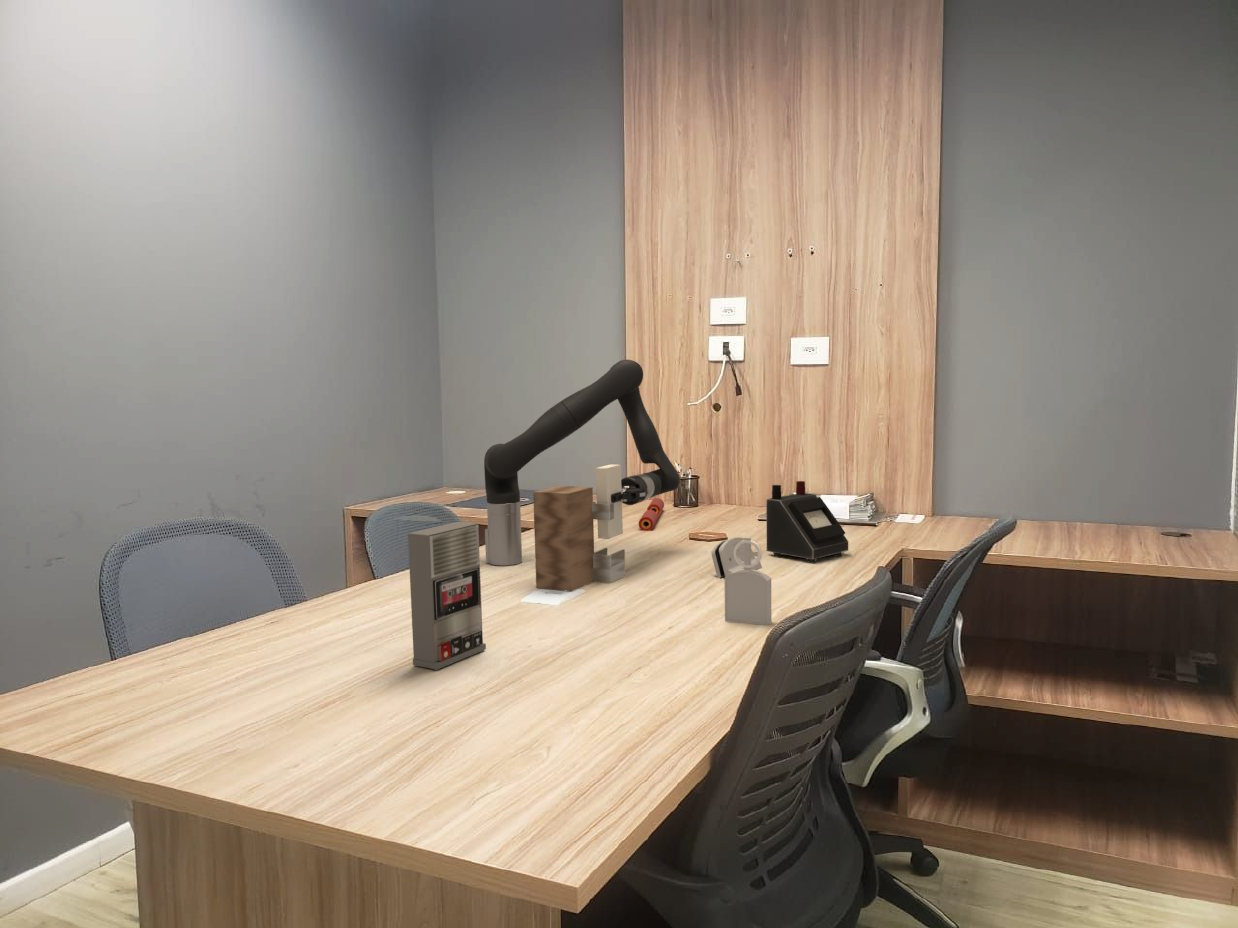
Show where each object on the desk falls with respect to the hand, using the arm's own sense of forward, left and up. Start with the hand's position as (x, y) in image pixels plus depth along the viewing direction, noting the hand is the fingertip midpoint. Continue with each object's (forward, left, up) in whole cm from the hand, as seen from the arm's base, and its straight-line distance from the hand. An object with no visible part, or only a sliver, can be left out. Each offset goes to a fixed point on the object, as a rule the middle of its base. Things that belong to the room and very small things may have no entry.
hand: (606, 498), depth 238 cm
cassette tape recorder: (+3, -69, -21) cm, 72 cm away
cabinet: (-5, -5, -21) cm, 22 cm away
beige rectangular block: (0, +2, -10) cm, 10 cm away
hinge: (+27, +20, -21) cm, 40 cm away
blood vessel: (-28, +86, -21) cm, 93 cm away
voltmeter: (+39, +47, -21) cm, 64 cm away
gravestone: (+46, -23, -21) cm, 56 cm away
